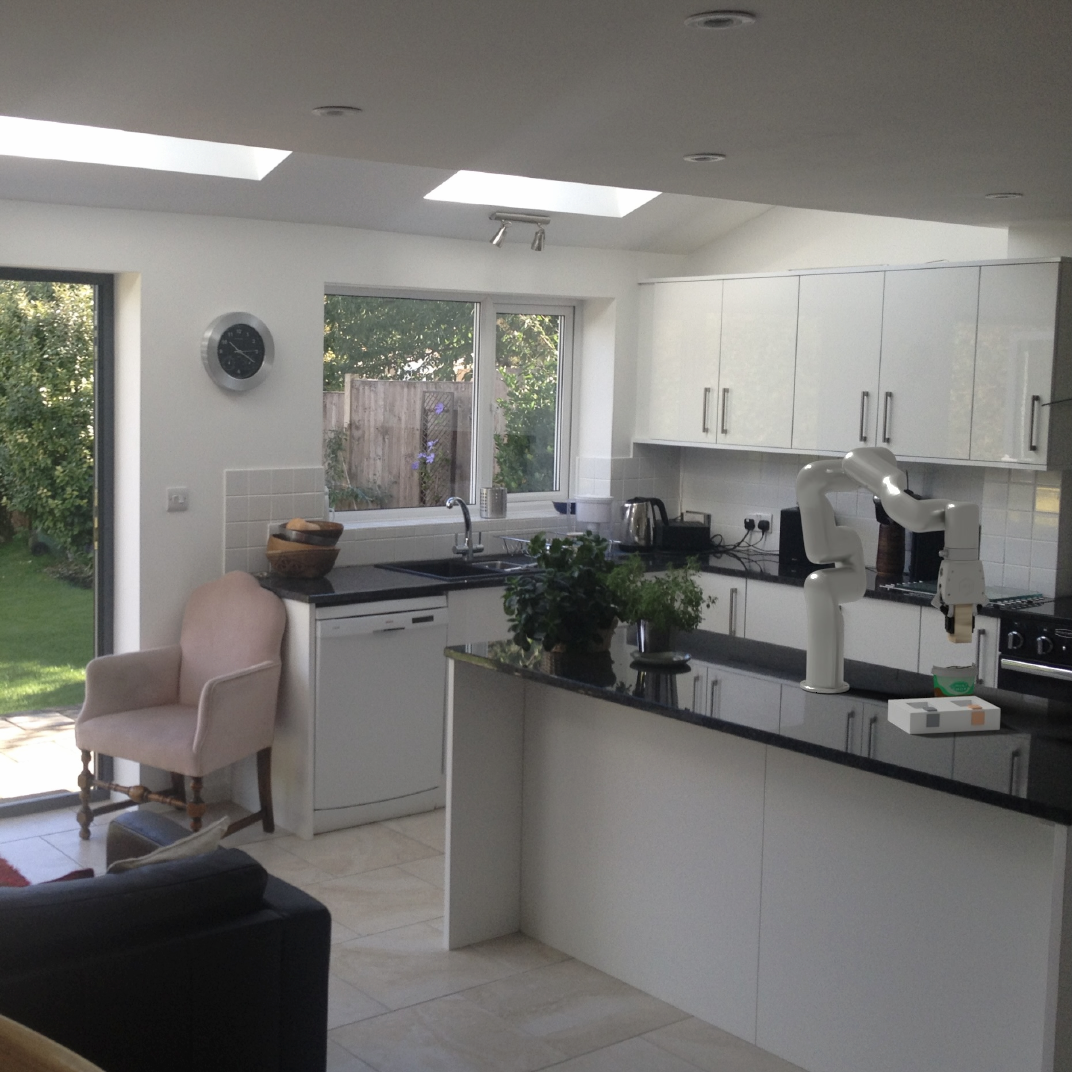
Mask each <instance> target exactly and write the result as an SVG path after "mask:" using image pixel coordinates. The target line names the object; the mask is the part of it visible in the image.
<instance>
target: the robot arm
mask: <svg viewBox="0 0 1072 1072" xmlns="http://www.w3.org/2000/svg"><path fill="white" fill-rule="evenodd" d="M907 482H908V479H907V475H906V474H905V472H904V471H902V470H901V469H899V468H898V461H897V457H896V456H895V454H894V453H893V451H891V449H889V448H887V447H884V446H866V447H856V448H854V449H851V450H849V451H848V452H846V454H845V455H844V456H843V458H839V459H823V460H816V461H813V462H810V463H807V464H805V465H804V466H803V467H802V468H801V469H800V470H799V472H798V474H797V477H796V479H795V495H796V501H797V504H798V507H799V511H800V518H801V527H802V528H801V529H802V535H803V536H802V537H803V543H804V545H803V546H804V550H805V554H806V557H807V559H808V561H809V562H811V563H813V564H815V565H816V564H817V565H826V564H834V567H830V568H824V569H823V568H822V569H818V570H815V571H813V572H811V573H810V574H808V575H807V577H806V578H805V581H804V584H803V594H804V599H805V604H806V623H807V624H806V667H805V668H806V670H805V671H806V675H805V676H806V677H805V679H804V680H801V681H800V683H799V687H800V689H802V690H803V691H807V692H811V693H816V692H817V693H818V694H837V693H838V694H840V693H844V692H847V691H849V689H850V684H849V683H848V682H847V681H844V664H845V663H844V661H845V659H844V658H845V657H844V656H845V654H844V653H845V620H844V616H843V613H842V610H841V609H840V606H839V605H841V604H848V603H854V602H857V601H859V600H861V599H863V597H864V595H865V593H866V591H867V585H868V584H867V572H866V566H865V565H866V564H865V555H864V549H863V548H864V547H863V542H862V540H861V537H860V535H859V533H858V532H857V531H856V529H854V528H853V527H850V526H848V525H836V519H835V512H834V508H833V505H832V504H831V502H830V500H829V499H828V498H827V496H826V494H829V493H843V492H852V491H857V490H860V489H865V490H866V491H868V492H869V493H871V494H872V495H874V496H875V497H876V498H878V499H879V500H880V502H881V505H882V507H883V510H884V511H885V513H886V515H888V516H889V518H890V519H892V521H894V522H896V523H897V524H899V525H900V526H902V528H905V529H906V530H908V531H910V532H913V533H927V532H928V533H929V532H937V531H944V547H943V550H939V552H938V556H939V557H942V558H943V560H941V563H940V566H939V571H938V578H937V586H936V587H937V588H936V589H937V590H936V594H935V596H934V597H933V599H932V600H931V601H930V604H931V605H932V606H933V607H935V608H937V609H938V610H939V611H940V612H941V614H942V615H943V616H944V629H945V632H946V633H947V634H948V633H950V634H954V627H955V617H953V612H954V605H960V604H973V607H972V634H974V631H975V630H974V629H975V628H976V617H977V616H978V613H980V611H981V610H983V608H984V607H986V606H987V605H988V604H989V603H990V599H989V597H988V596H987V594H986V580H985V572H984V571H985V569H984V565H983V561H982V560H980V559H979V543H980V542H979V539H980V536H979V535H980V533H979V532H980V507H979V504H978V503H976V502H974V501H957V500H952V499H948V498H933V499H932V498H931V499H920V500H919V499H916V498H914V497H912V496H911V495H909V493H906V492H905V489H906V487H907ZM942 603H943V604H942Z"/></svg>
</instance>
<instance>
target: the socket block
mask: <svg viewBox="0 0 1072 1072" xmlns="http://www.w3.org/2000/svg"><path fill="white" fill-rule="evenodd" d="M887 702H888V703H887V704H888V705H887V721H888V722H890V723H891V724H893V725H894V726H896V727H897V728H899V729H901V730H902V731H904V732H905V733H906V734H908V735H920V734H922V735H923V734H939V733H941V734H942V733H957V732H958V733H959V732H961V733H962V732H979V731H998V730H999V731H1000V728H1001V708H1000V707H998V706H996V705H994V704H993V703H990V702H988V701H986V700H984V699H983V698H980V697H978V696H976V695H973V696H964V697H942V698H935V697H927V698H926V697H925V698H904V699H903V698H901V699H888V701H887Z"/></svg>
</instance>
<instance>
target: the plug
mask: <svg viewBox="0 0 1072 1072" xmlns="http://www.w3.org/2000/svg"><path fill="white" fill-rule="evenodd" d="M972 607H973V604H960V605H954V612H953V617H955V627H954V634H950V633H947V641H948V642H951V643H953V644H972V640H973V638H972V637H973V636H972V635H973V633H972Z"/></svg>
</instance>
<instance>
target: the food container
mask: <svg viewBox="0 0 1072 1072" xmlns="http://www.w3.org/2000/svg"><path fill="white" fill-rule="evenodd" d="M930 674H931V675H932V677H933V691H934V692H933V693H934V698H942V697H964V696H974V689H975V681H976V676H978V675H979V669H978V666H977V664H976V663H975V662H971V665H966V666H960V665H951V666H946V667H941V666H937V665H934V664H933V665H932V668H931V671H930Z"/></svg>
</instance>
